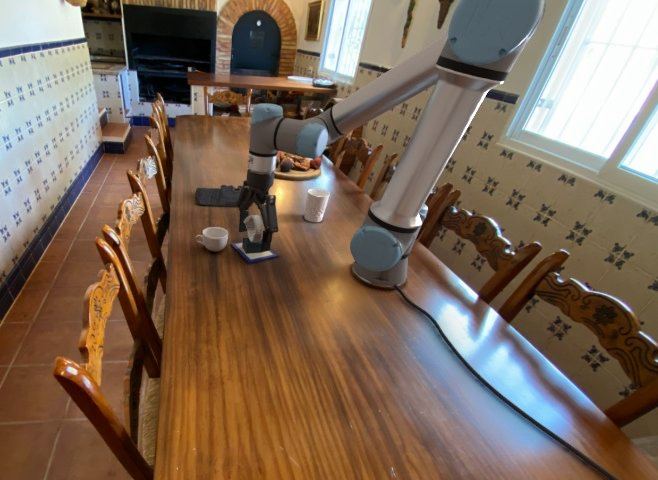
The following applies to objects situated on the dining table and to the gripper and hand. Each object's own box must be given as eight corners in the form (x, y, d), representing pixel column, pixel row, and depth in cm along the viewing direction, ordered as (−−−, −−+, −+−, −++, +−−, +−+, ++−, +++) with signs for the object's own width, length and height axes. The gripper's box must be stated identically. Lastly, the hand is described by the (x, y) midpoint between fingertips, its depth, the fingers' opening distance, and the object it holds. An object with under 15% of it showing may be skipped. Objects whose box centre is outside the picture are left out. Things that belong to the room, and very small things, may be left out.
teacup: (226, 242, 116) (226, 226, 112) (228, 254, 110) (229, 238, 106) (195, 242, 114) (194, 226, 111) (195, 254, 108) (195, 238, 105)
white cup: (323, 224, 131) (329, 197, 124) (301, 221, 132) (307, 194, 125) (323, 215, 137) (329, 190, 130) (303, 212, 138) (308, 187, 131)
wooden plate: (327, 167, 185) (331, 150, 180) (311, 186, 162) (315, 167, 156) (269, 156, 194) (271, 140, 189) (246, 172, 171) (248, 154, 166)
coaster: (277, 257, 110) (277, 255, 110) (249, 263, 106) (249, 261, 106) (257, 239, 118) (257, 238, 118) (230, 245, 114) (230, 243, 114)
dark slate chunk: (194, 191, 148) (194, 179, 145) (247, 192, 151) (248, 181, 148) (196, 206, 136) (196, 194, 133) (252, 207, 139) (254, 195, 136)
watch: (256, 242, 115) (260, 210, 108) (264, 255, 109) (269, 221, 102) (240, 243, 114) (242, 211, 107) (247, 256, 108) (250, 222, 101)
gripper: (227, 157, 103) (224, 225, 116) (274, 187, 86) (264, 262, 100) (250, 155, 106) (244, 222, 119) (299, 184, 89) (286, 257, 103)
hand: (253, 240), depth 110 cm, fingers open, 13 cm apart
